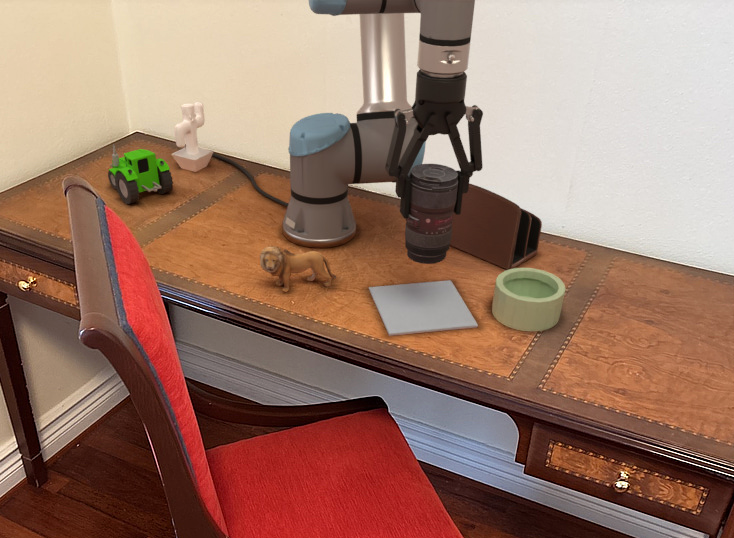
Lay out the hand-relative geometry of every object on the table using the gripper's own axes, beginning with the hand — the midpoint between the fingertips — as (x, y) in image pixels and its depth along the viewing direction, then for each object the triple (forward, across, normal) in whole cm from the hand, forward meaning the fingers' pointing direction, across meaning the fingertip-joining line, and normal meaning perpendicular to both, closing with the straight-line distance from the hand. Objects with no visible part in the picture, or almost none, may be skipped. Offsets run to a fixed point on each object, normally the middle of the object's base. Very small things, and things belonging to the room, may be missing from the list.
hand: (430, 212), depth 133 cm
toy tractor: (+18, -50, +59) cm, 80 cm away
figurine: (+18, -37, +72) cm, 83 cm away
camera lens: (+8, 0, 0) cm, 8 cm away
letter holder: (+19, +19, +21) cm, 34 cm away
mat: (+18, 0, 0) cm, 18 cm away
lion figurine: (+19, -21, +11) cm, 30 cm away
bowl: (+18, +18, -5) cm, 26 cm away
